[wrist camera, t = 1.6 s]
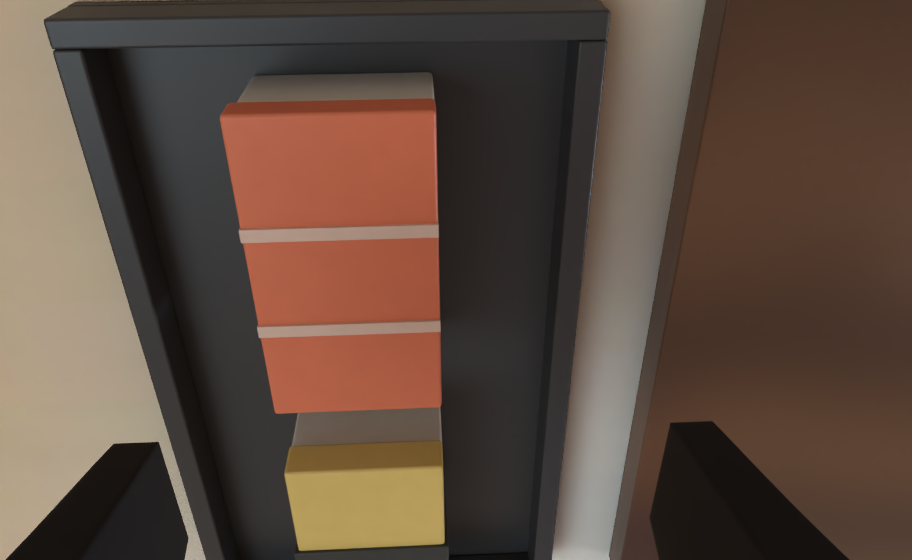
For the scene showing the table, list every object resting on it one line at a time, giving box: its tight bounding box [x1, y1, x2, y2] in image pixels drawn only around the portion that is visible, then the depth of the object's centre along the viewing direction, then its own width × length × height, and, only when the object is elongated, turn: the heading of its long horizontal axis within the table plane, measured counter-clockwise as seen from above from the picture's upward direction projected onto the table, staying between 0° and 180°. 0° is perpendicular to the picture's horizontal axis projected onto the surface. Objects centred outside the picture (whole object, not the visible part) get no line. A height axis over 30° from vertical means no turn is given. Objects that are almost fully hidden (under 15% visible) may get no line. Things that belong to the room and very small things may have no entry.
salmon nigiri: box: [220, 72, 442, 414], centre depth 17 cm, size 7×4×3 cm, turn 0°
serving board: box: [609, 0, 912, 560], centre depth 21 cm, size 20×12×1 cm, turn 0°
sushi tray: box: [44, 0, 610, 560], centre depth 20 cm, size 19×11×2 cm, turn 0°
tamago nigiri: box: [284, 407, 449, 560], centre depth 21 cm, size 7×4×4 cm, turn 0°
